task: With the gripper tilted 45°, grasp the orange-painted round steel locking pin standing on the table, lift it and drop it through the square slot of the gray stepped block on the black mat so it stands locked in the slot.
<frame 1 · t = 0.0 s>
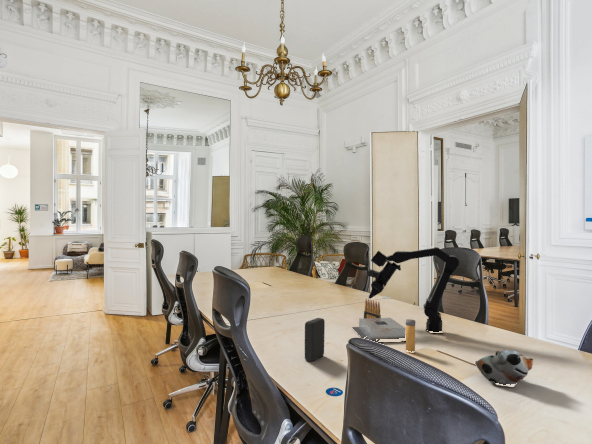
hand: (370, 296, 178), 15 cm above the table, tool tilted 35°, fingers open, 9 cm apart
card reader: (314, 358, 133), on the table
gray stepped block: (380, 334, 162), on the table
pin: (410, 351, 141), on the table
ammunition clip: (372, 322, 182), on the table
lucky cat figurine: (503, 381, 116), on the table
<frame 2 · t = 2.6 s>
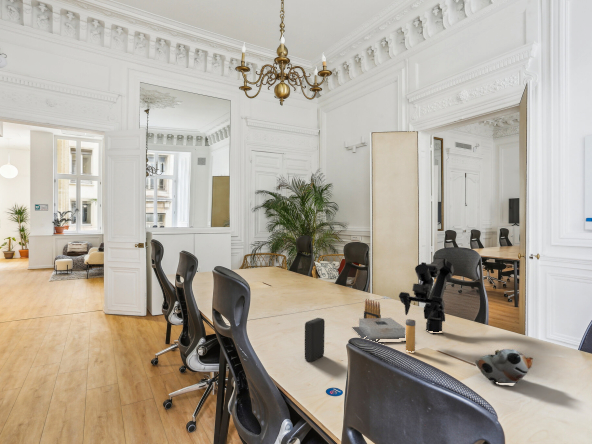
hand: (416, 316, 146), 13 cm above the table, tool tilted 45°, fingers open, 9 cm apart
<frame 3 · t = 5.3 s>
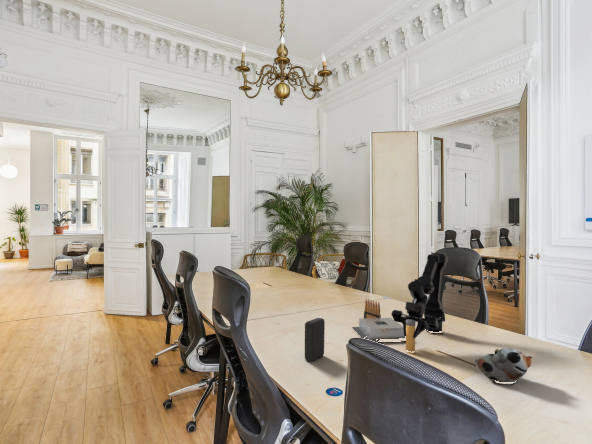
hand: (409, 336, 140), 7 cm above the table, tool tilted 45°, fingers closed on pin, 4 cm apart
pin: (410, 351, 141), on the table, touching gripper
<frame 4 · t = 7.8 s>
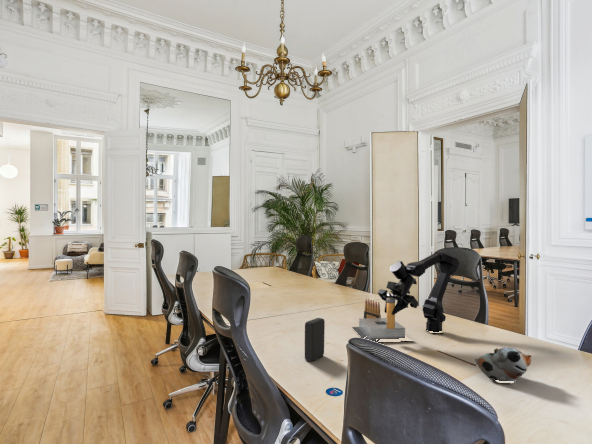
hand: (388, 313, 150), 13 cm above the table, tool tilted 45°, fingers closed on pin, 4 cm apart
pin: (390, 327, 151), point 7 cm above the table, touching gripper
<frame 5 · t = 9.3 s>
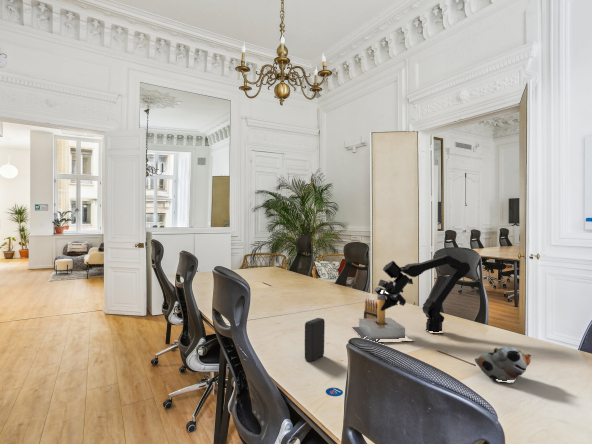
hand: (378, 309, 162), 12 cm above the table, tool tilted 45°, fingers closed on pin, 4 cm apart
pin: (381, 322, 162), point 6 cm above the table, touching gripper
when the fingers open (8 cm above the table, at t = 10.3 s): pin drops 1 cm, resting on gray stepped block.
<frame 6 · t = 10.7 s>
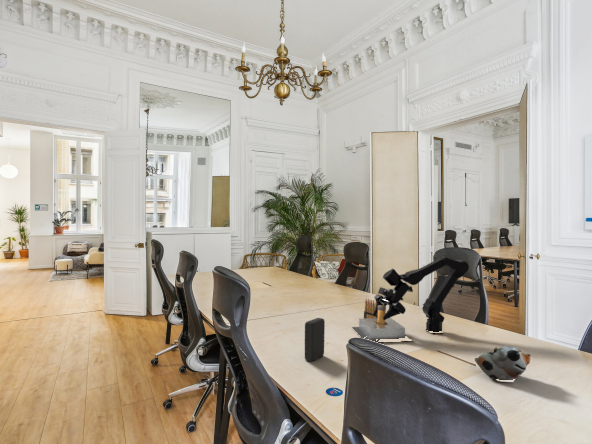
hand: (378, 317, 162), 9 cm above the table, tool tilted 45°, fingers open, 8 cm apart
pin: (381, 333, 162), point 1 cm above the table, touching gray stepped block
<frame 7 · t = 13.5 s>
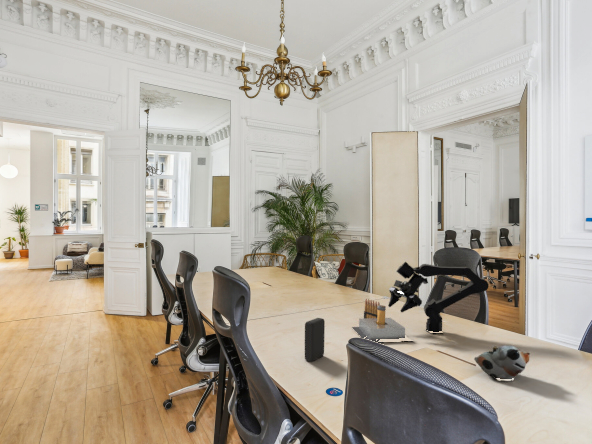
hand: (394, 309, 165), 12 cm above the table, tool tilted 45°, fingers open, 9 cm apart
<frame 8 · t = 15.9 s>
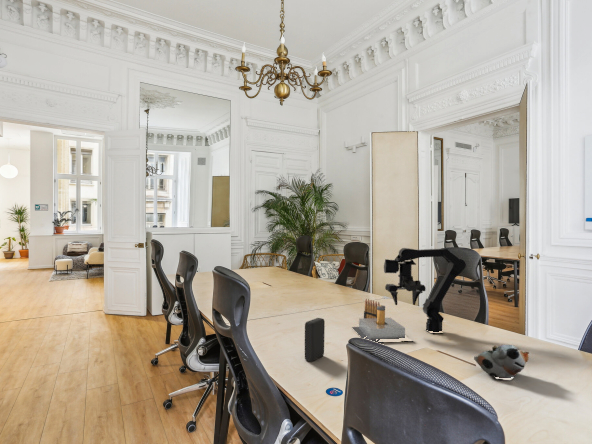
hand: (405, 304, 168), 13 cm above the table, tool pointing down, fingers open, 9 cm apart
at the end: pin 0.0 cm off-centre on the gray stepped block, point 0.6 cm above the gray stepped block's base; pin tilted 1°; the gripper is holding nothing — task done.
